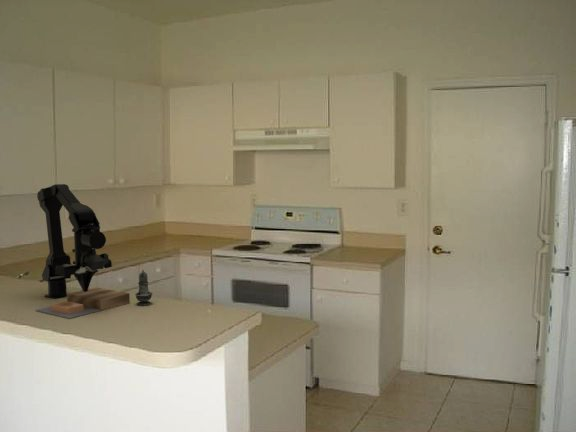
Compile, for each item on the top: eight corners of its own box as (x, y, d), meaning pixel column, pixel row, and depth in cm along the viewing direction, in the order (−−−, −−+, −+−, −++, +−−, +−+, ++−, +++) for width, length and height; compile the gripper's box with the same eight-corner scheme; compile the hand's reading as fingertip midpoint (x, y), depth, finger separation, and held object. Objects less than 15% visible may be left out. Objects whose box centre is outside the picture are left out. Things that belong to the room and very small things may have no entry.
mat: (35, 311, 191) (35, 310, 191) (67, 303, 201) (67, 302, 201) (69, 319, 181) (69, 318, 181) (101, 310, 191) (101, 309, 191)
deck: (67, 303, 201) (67, 293, 201) (96, 296, 211) (95, 287, 211) (101, 310, 191) (100, 300, 191) (129, 303, 201) (129, 293, 201)
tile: (66, 301, 195) (66, 306, 195) (50, 304, 190) (50, 310, 190) (83, 304, 190) (83, 310, 190) (67, 308, 185) (67, 314, 185)
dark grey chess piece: (155, 302, 202) (154, 268, 201) (149, 306, 197) (148, 271, 195) (138, 301, 203) (137, 268, 202) (132, 305, 197) (131, 271, 196)
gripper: (74, 251, 182) (76, 300, 184) (121, 244, 198) (123, 289, 199) (53, 248, 189) (55, 295, 190) (100, 242, 204) (102, 285, 206)
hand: (85, 291), depth 196 cm, fingers closed
